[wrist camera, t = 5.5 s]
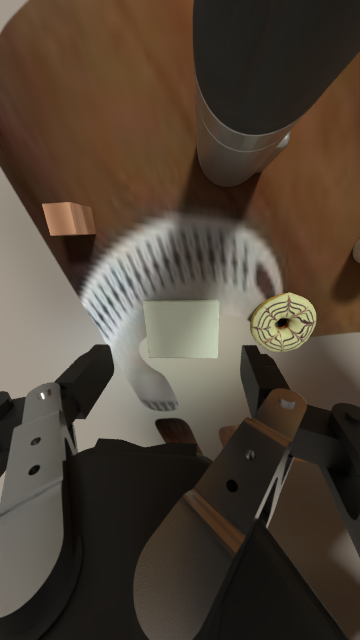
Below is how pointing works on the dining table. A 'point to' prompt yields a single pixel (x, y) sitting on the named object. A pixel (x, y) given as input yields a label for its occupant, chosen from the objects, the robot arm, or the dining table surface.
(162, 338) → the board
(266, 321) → the decorated donut
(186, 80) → the dining table surface
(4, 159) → the dining table surface
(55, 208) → the terracotta block
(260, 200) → the dining table surface
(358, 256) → the white rounded cylinder
